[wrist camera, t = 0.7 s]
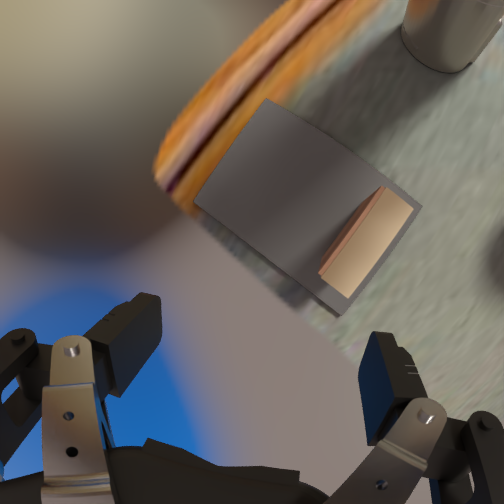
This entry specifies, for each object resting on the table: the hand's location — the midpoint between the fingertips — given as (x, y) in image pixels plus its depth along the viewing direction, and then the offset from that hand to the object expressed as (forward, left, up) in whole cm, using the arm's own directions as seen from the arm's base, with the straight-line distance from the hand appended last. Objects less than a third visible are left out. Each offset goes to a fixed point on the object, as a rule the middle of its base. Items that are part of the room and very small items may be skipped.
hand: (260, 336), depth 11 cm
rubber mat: (-1, -7, -21) cm, 22 cm away
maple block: (-5, -2, -21) cm, 21 cm away
